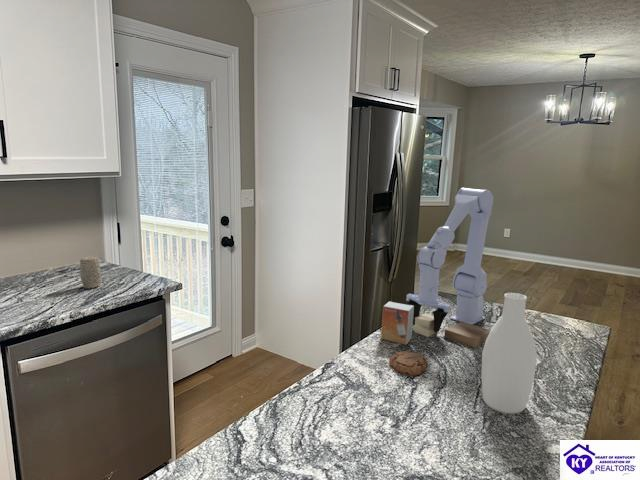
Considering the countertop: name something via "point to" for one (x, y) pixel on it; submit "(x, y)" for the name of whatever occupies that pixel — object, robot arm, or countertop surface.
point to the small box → (397, 322)
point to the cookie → (408, 363)
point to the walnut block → (467, 334)
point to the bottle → (509, 359)
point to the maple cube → (424, 325)
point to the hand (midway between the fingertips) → (425, 327)
